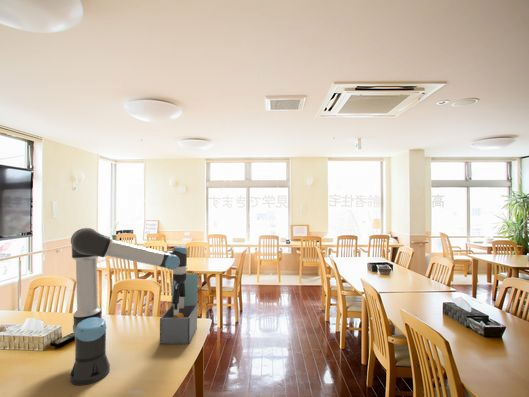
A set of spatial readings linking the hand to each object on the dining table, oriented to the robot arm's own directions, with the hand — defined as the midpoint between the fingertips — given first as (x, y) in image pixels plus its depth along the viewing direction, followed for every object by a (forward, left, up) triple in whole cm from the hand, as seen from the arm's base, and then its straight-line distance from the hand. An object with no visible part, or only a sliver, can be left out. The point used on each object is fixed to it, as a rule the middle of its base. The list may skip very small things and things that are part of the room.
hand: (178, 311), depth 164 cm
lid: (+12, 0, +9) cm, 15 cm away
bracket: (0, 0, -13) cm, 13 cm away
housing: (0, 0, -14) cm, 14 cm away
